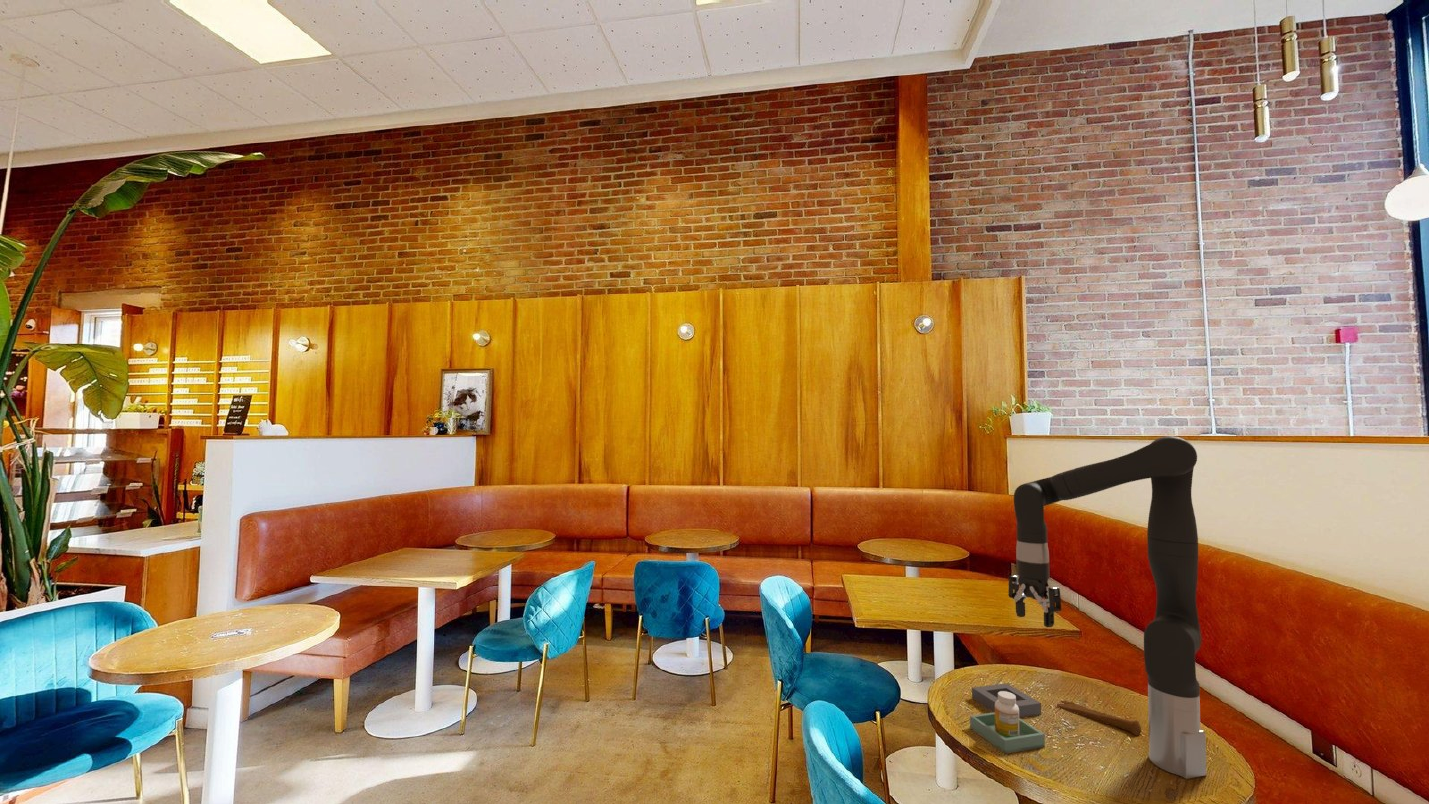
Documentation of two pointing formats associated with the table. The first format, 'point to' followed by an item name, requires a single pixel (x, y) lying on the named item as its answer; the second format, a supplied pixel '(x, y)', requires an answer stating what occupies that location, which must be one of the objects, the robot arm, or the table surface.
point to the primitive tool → (1102, 717)
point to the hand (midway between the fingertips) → (1034, 621)
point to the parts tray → (1024, 741)
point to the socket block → (990, 692)
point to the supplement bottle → (1006, 715)
